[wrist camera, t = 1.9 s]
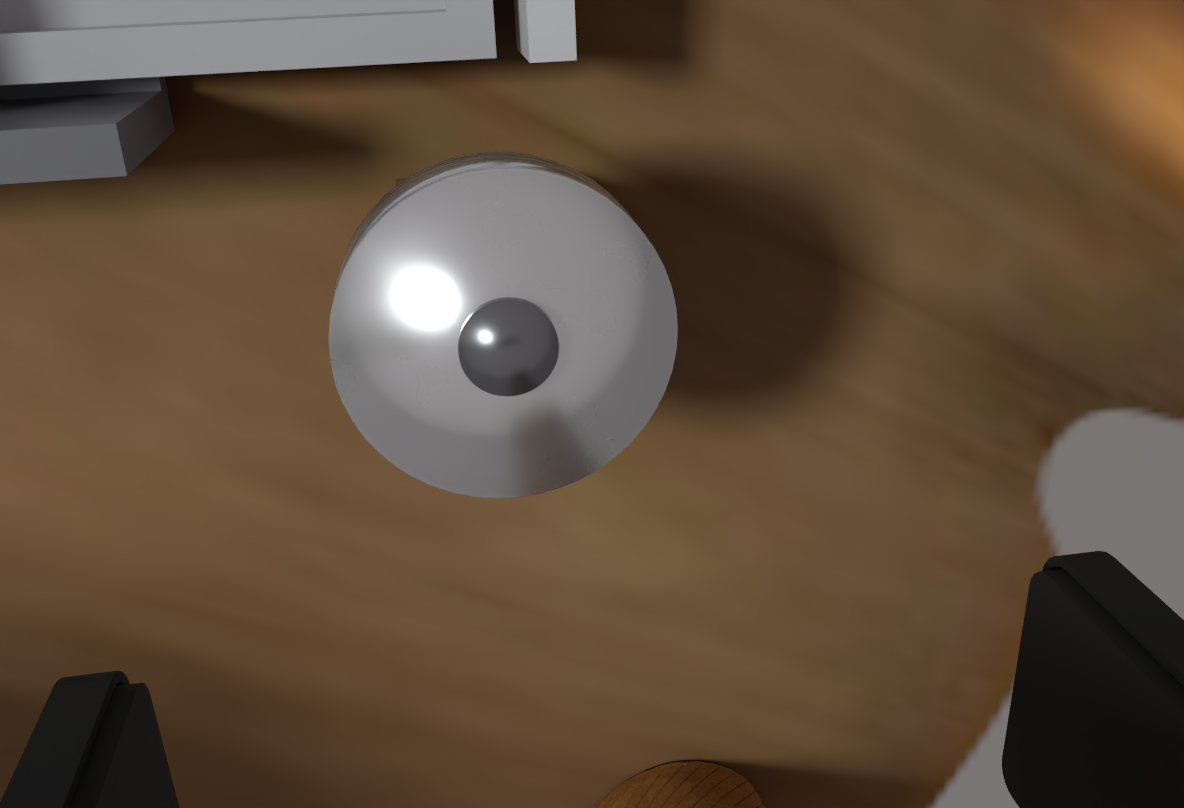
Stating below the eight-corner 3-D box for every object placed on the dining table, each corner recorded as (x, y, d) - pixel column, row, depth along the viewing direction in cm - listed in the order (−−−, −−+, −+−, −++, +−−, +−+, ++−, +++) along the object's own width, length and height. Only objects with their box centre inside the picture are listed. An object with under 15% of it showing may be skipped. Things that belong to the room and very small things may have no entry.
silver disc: (660, 443, 25) (681, 486, 23) (355, 475, 24) (351, 522, 22) (657, 141, 22) (681, 161, 20) (311, 163, 21) (303, 187, 20)
